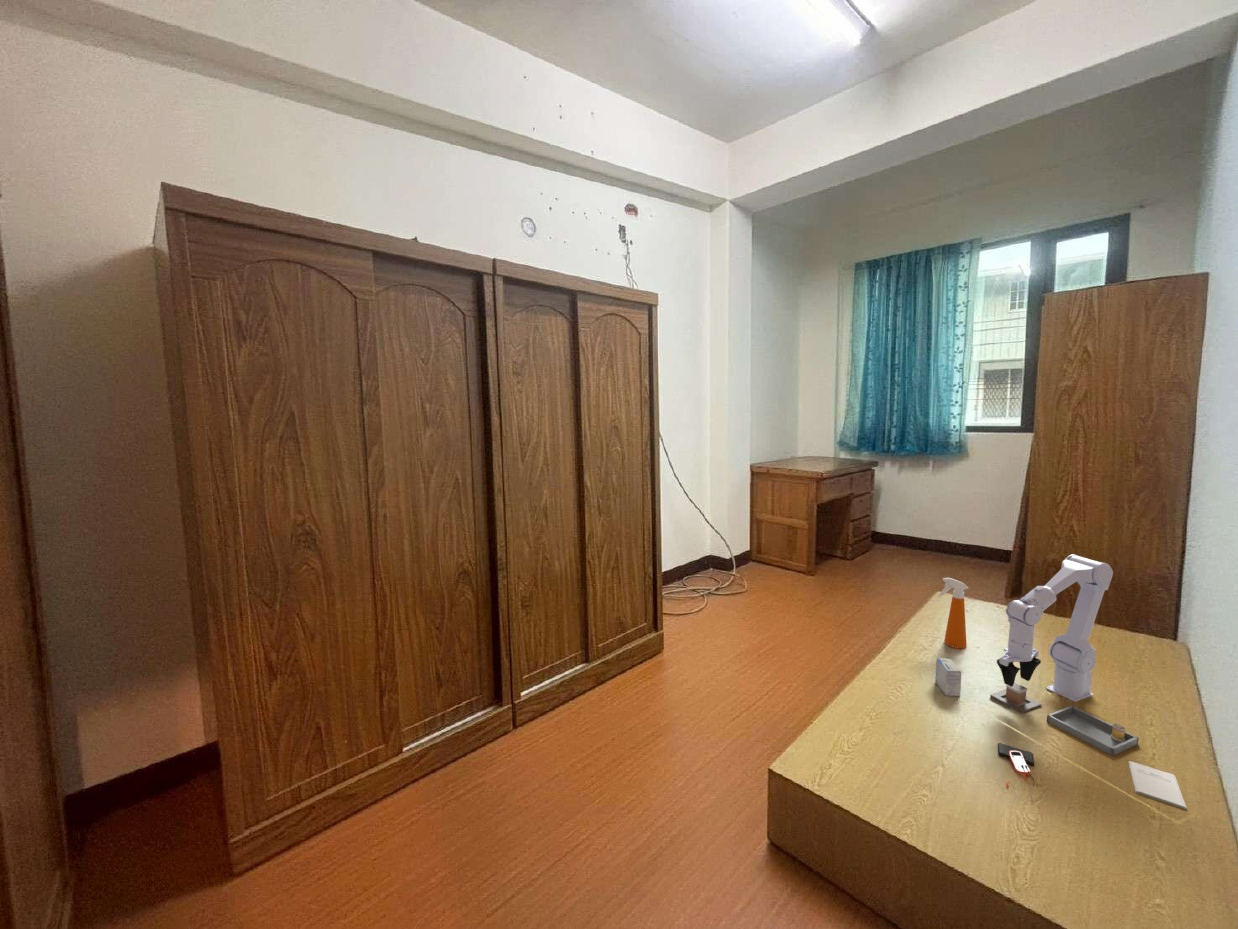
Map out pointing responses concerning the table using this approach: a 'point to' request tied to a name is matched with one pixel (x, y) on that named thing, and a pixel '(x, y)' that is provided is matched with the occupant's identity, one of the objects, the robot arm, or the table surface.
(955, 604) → the spray bottle
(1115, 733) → the cylinder
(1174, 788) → the external hard drive
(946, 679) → the medicine box
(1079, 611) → the robot arm
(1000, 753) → the multimeter
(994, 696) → the grey square frame
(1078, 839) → the table surface
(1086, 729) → the parts tray
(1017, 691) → the block
